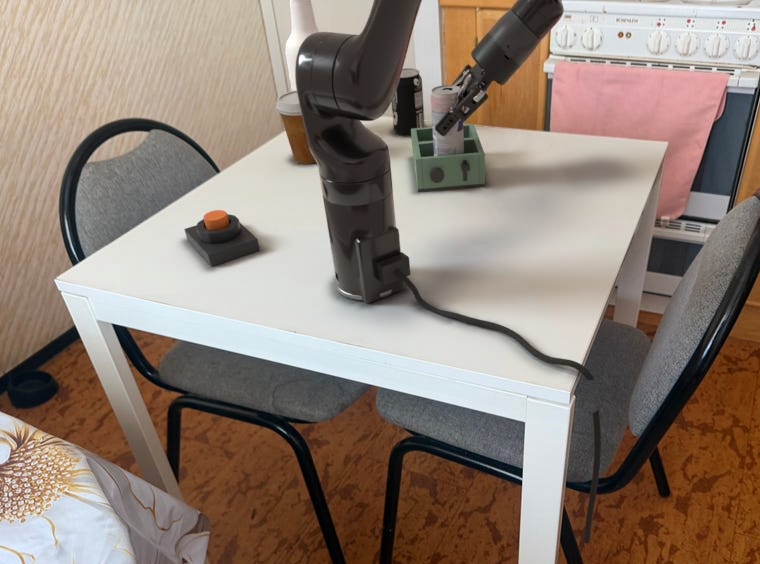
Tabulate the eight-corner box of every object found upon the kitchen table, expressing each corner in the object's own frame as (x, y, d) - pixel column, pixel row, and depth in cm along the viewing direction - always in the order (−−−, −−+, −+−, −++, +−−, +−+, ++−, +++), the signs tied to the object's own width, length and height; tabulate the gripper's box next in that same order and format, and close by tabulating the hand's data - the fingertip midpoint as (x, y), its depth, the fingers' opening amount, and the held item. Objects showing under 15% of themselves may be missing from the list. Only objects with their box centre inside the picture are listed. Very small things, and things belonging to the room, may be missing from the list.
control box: (260, 251, 109) (254, 228, 107) (211, 267, 106) (204, 244, 104) (234, 226, 117) (228, 204, 114) (187, 241, 113) (180, 218, 111)
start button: (232, 225, 109) (230, 215, 108) (210, 232, 107) (208, 222, 106) (224, 217, 111) (221, 207, 110) (202, 224, 110) (199, 214, 108)
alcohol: (345, 140, 145) (323, -21, 127) (303, 147, 144) (275, -16, 125) (337, 127, 152) (316, -28, 134) (297, 133, 150) (270, -23, 132)
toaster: (474, 153, 136) (473, 123, 132) (486, 190, 123) (486, 157, 119) (413, 158, 136) (410, 128, 132) (418, 195, 122) (416, 163, 119)
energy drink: (467, 153, 126) (465, 84, 118) (460, 165, 122) (457, 95, 114) (438, 152, 127) (434, 84, 120) (430, 163, 123) (426, 94, 116)
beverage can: (389, 129, 149) (384, 71, 142) (417, 123, 151) (413, 65, 144) (401, 138, 144) (396, 79, 137) (430, 132, 146) (426, 73, 139)
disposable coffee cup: (278, 165, 137) (265, 103, 129) (299, 147, 144) (288, 87, 136) (322, 168, 134) (312, 105, 127) (341, 150, 141) (333, 89, 134)
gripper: (483, 21, 118) (418, 99, 125) (496, 42, 106) (423, 127, 113) (514, 51, 121) (449, 126, 128) (530, 75, 110) (457, 155, 117)
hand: (437, 126), depth 121 cm, fingers closed on energy drink, 5 cm apart
